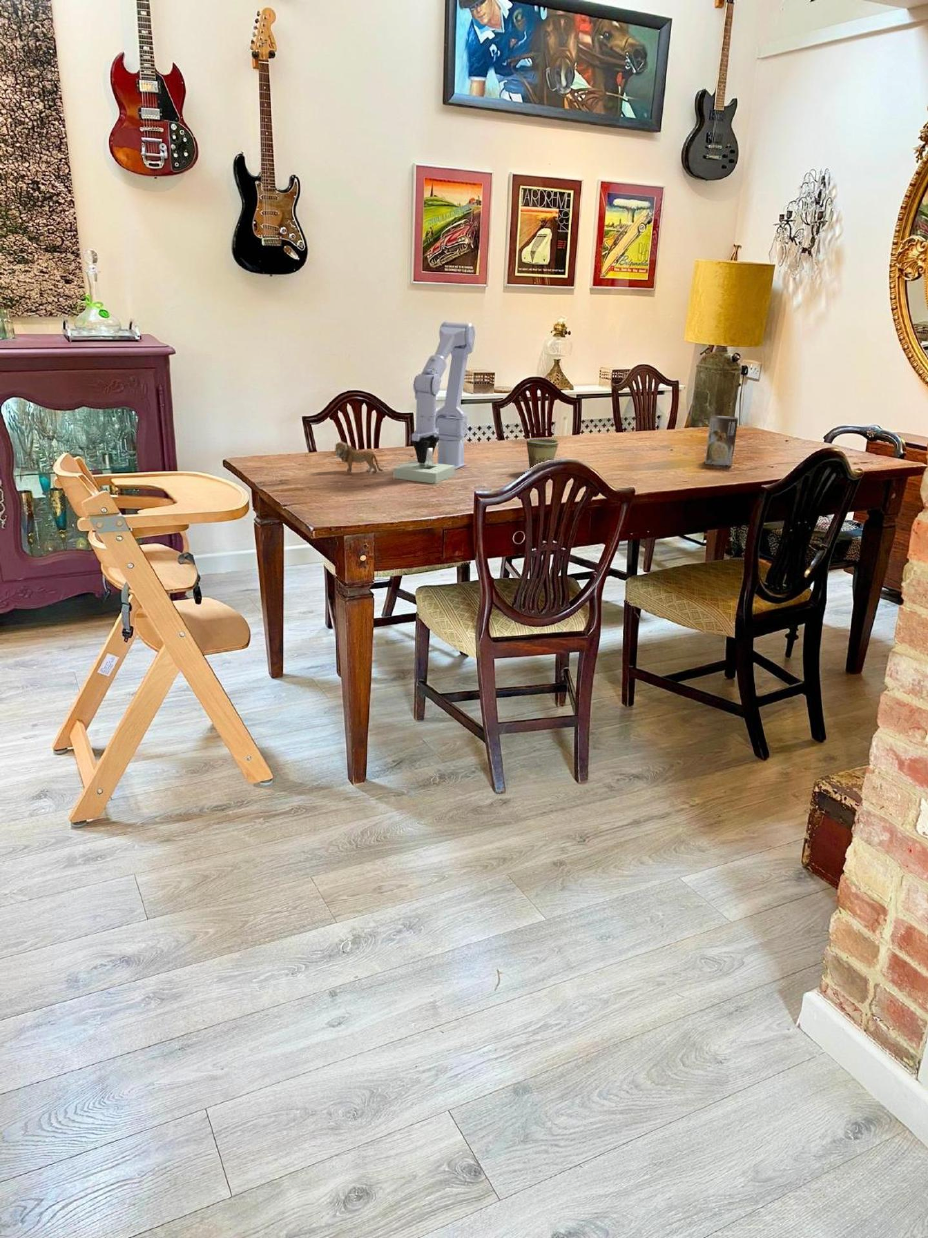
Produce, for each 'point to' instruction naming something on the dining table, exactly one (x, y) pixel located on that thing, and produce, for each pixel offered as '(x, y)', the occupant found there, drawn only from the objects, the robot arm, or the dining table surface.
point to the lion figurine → (355, 456)
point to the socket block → (424, 472)
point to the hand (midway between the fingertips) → (424, 461)
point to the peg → (427, 460)
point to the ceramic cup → (541, 450)
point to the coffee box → (721, 440)
